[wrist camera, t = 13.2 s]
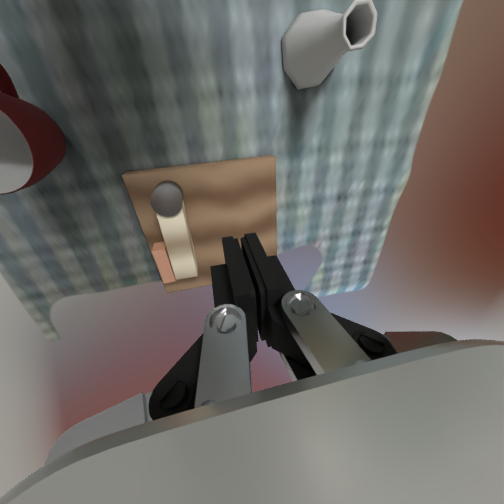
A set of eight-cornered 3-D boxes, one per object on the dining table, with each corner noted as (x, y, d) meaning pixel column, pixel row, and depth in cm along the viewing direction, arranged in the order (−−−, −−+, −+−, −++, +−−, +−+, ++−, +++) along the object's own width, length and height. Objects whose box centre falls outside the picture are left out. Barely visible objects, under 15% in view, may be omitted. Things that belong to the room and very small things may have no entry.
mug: (-44, 62, 21) (-196, 29, 13) (49, 57, 22) (-38, 24, 14) (26, 174, 27) (-50, 201, 19) (96, 166, 28) (55, 188, 20)
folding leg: (151, 181, 28) (146, 189, 25) (180, 178, 29) (178, 186, 26) (176, 267, 36) (174, 281, 33) (198, 264, 36) (198, 277, 33)
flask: (293, 101, 29) (332, 96, 21) (270, 33, 25) (307, -7, 17) (342, 69, 28) (403, 51, 20) (327, -6, 24) (395, -68, 16)
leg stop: (154, 243, 33) (151, 251, 31) (166, 241, 33) (164, 249, 31) (165, 274, 36) (163, 283, 34) (176, 272, 36) (175, 281, 35)
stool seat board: (125, 171, 29) (121, 175, 27) (271, 154, 32) (275, 157, 30) (168, 285, 40) (166, 293, 38) (273, 265, 43) (276, 271, 41)
